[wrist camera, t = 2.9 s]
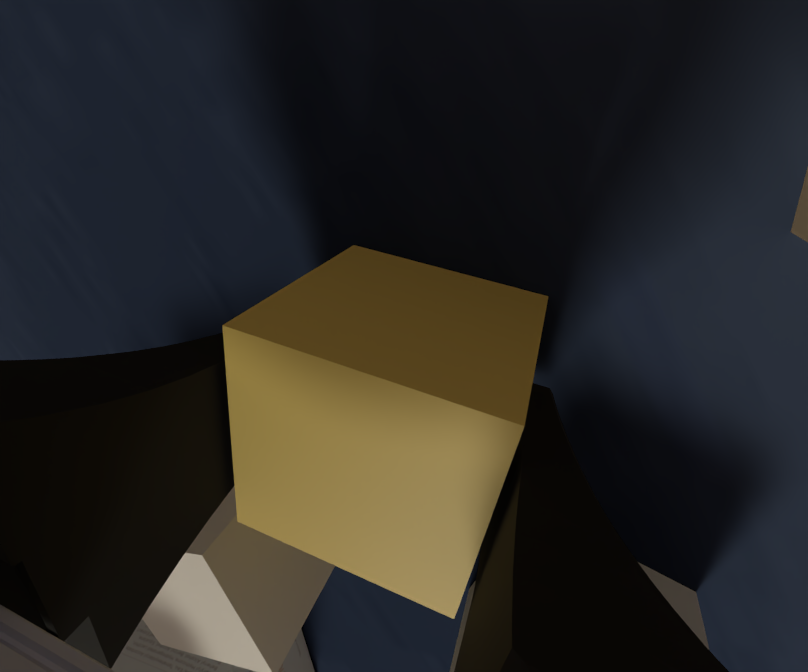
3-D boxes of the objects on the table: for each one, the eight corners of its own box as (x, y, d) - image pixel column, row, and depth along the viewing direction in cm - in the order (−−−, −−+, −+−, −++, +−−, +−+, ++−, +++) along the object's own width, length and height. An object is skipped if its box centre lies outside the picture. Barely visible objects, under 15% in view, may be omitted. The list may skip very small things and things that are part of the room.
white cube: (305, 433, 15) (202, 555, 11) (349, 538, 17) (274, 676, 13) (202, 434, 18) (83, 537, 13) (251, 527, 19) (160, 644, 15)
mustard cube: (548, 296, 10) (524, 426, 6) (496, 451, 13) (454, 619, 9) (353, 244, 11) (222, 325, 7) (340, 396, 14) (237, 521, 10)
